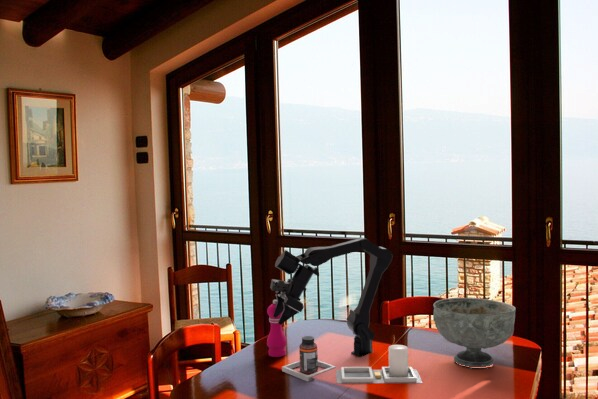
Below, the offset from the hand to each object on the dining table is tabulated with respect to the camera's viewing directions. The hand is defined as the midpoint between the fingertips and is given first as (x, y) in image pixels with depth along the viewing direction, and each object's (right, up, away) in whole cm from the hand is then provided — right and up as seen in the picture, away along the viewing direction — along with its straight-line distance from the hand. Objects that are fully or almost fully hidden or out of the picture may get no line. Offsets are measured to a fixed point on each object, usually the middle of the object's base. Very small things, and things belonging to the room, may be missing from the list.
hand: (276, 320), depth 184 cm
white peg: (+39, -14, -16) cm, 44 cm away
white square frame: (+11, -15, -7) cm, 20 cm away
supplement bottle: (+11, -15, -7) cm, 20 cm away
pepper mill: (0, -15, +10) cm, 18 cm away
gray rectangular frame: (+32, -15, -16) cm, 39 cm away
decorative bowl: (+67, -14, -2) cm, 69 cm away
